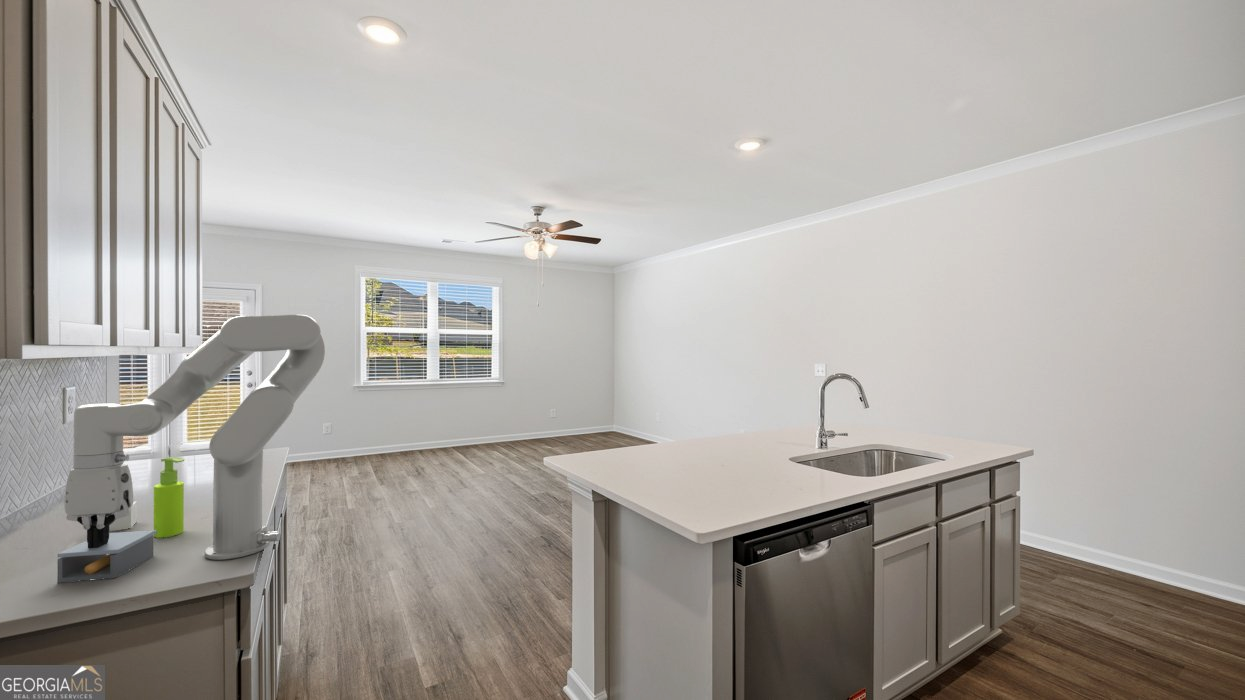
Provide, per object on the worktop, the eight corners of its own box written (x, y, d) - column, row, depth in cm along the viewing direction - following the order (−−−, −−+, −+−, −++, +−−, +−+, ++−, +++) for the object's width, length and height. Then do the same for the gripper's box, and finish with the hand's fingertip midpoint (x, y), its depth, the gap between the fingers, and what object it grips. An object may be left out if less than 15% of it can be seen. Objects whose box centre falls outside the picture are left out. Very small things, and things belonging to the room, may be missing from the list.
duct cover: (156, 533, 120) (156, 530, 120) (118, 553, 108) (118, 549, 108) (102, 536, 118) (102, 533, 118) (57, 557, 106) (57, 553, 106)
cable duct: (153, 556, 120) (153, 534, 120) (114, 578, 108) (114, 554, 108) (102, 559, 118) (102, 538, 118) (57, 583, 106) (57, 559, 106)
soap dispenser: (168, 539, 131) (169, 461, 131) (147, 536, 132) (147, 459, 132) (192, 531, 136) (192, 456, 136) (171, 529, 138) (172, 455, 138)
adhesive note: (136, 522, 143) (137, 501, 143) (131, 528, 138) (131, 506, 138) (107, 526, 140) (107, 504, 140) (100, 533, 135) (100, 510, 135)
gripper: (151, 456, 115) (150, 537, 115) (72, 458, 112) (71, 541, 112) (126, 463, 108) (125, 549, 108) (41, 466, 105) (40, 555, 105)
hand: (98, 545), depth 110 cm, fingers closed
